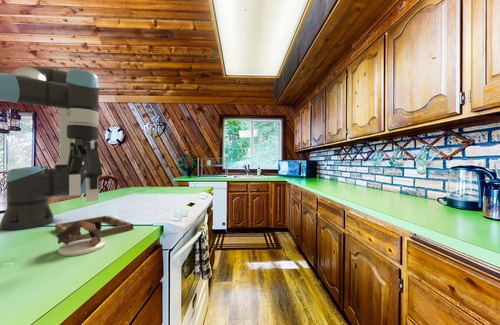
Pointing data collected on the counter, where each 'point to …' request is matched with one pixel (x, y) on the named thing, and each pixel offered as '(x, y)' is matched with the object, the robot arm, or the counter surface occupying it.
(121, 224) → the walnut frame
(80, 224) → the brown hollow round piece
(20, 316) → the counter surface
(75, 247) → the white dome
